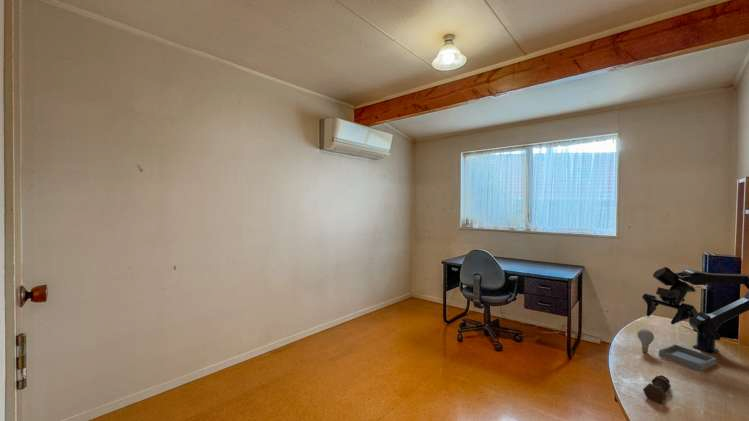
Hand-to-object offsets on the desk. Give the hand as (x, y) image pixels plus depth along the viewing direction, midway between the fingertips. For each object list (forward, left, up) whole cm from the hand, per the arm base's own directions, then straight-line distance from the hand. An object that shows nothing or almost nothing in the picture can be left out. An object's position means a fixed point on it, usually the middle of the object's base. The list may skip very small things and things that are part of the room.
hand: (659, 319), depth 140 cm
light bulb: (+8, -1, -14) cm, 16 cm away
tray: (0, +10, -13) cm, 17 cm away
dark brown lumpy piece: (+38, +17, -14) cm, 44 cm away
